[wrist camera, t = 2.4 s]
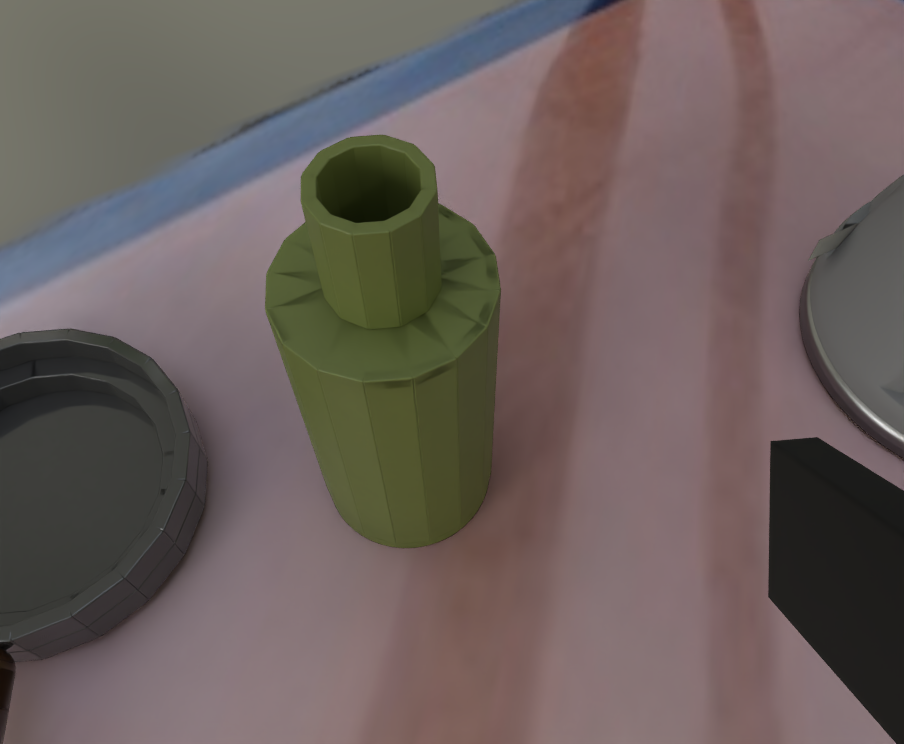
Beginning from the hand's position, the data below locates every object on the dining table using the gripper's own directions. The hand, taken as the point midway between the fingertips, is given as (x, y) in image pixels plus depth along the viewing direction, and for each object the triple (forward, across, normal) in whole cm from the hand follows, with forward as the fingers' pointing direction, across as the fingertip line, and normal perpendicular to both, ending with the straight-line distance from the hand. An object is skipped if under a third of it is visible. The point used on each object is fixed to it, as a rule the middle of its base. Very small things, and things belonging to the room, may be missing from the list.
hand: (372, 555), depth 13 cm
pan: (+21, -15, -6) cm, 27 cm away
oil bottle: (+21, 0, -6) cm, 22 cm away
